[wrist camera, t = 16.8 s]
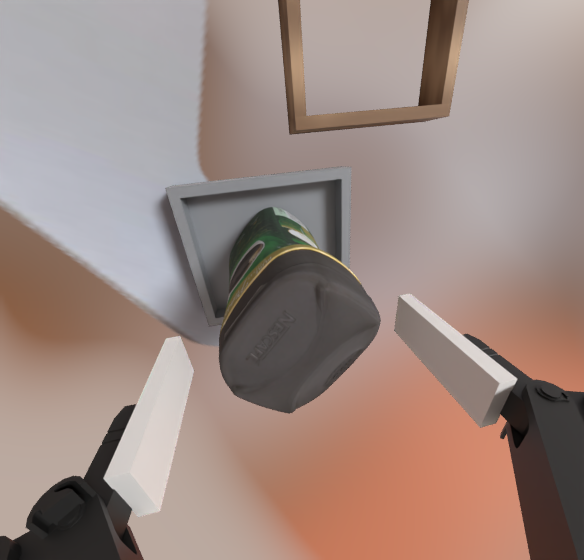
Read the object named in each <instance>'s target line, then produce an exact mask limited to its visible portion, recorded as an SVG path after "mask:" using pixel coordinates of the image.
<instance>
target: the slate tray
mask: <svg viewBox="0 0 584 560" xmlns="http://www.w3.org/2000/svg"><path fill="white" fill-rule="evenodd" d="M165 189H166V192H167V195H168V198H169V202H170V205H171V208H172V211H173V214H174V217H175V220H176V224H177V227H178V230H179V233H180V236H181V239H182V242H183V246H184V249H185V252H186V255H187V258H188V261H189V265H190V268H191V271H192V274H193V277H194V280H195V283H196V287H197V290H198V293H199V296H200V299H201V302H202V305H203V309H204V312H205V315H206V318H207V321H208V324H209V326H215V325H220V324H222V323H223V319H224V315H225V311H226V306H227V302H228V295H229V258H230V253H231V251H232V249H233V247H234V245H235V243H236V241H237V239H238V237H239V236H240V234H241V233H242V231H243V230H244V228H245V227H246V226H247V224H248V223H249V222H250V221H251V219H252V218H253V217H254V216H255V215H256V214H257V213H258V212H259V211H261V210H263V209H265V208H268V207H277V208H280V209H283V210H285V211H287V212H289V213H290V214H292V215H293V216H295V217H296V218H297V219H298V220H300V221H301V222H302V223H303V224H304V225H305V226H306V227H307V229H308V230H309V231H310V233H311V234H312V236H313V238H314V240H315V241H316V244H317V245H318V247H319V249H320V250H323V251H325V252H327V253H329V254H330V255H332V256H334V257H335V258H336V259H338V260H339V261H341V262H342V263H343V264H344V265H345V266H346V267H347V268H348V269H350V210H351V167H342V166H341V167H332V168H325V169H315V170H306V171H298V172H289V173H280V174H271V175H263V176H254V177H245V178H236V179H227V180H218V181H210V182H201V183H192V184H183V185H175V186H171V187H168V188H165Z"/></svg>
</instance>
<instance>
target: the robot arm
mask: <svg viewBox="0 0 584 560" xmlns="http://www.w3.org/2000/svg"><path fill="white" fill-rule="evenodd" d="M394 331H395V332H396V333H397V334H398V335H399V336H400V338H401V339H402V340H403V341H404V342H405V343H406V344H407V346H408V347H409V348H410V349H411V350H412V351H413V352H414V354H415V355H416V356H417V357H418V358H419V359H420V360H421V361H422V363H423V364H424V365H425V366H426V367H427V368H428V369H429V370H430V372H431V373H432V374H433V375H434V376H435V377H436V378H437V379H438V381H439V382H440V383H441V384H442V385H443V386H444V387H445V388H446V390H447V391H448V392H449V393H450V394H451V395H452V396H453V397H454V399H455V400H456V401H457V402H458V403H459V404H460V405H461V406H462V408H463V409H464V410H465V411H466V412H467V413H468V414H469V416H470V417H471V418H472V419H473V420H474V421H475V422H476V423H477V425H478V426H479V427H484V426H488V425H492V424H495V423H496V422H497V420H498V418H499V416H500V414H501V415H502V416H503V417H504V418H505V419H506V420H507V422H506V425H505V426H504V428H503V430H502V432H501V436H500V438H502V439H504V437H505V435H506V434H507V436H508V442H509V447H510V452H511V458H512V463H513V468H514V474H515V479H516V485H517V490H518V495H519V500H520V506H521V511H522V517H523V522H524V527H525V533H526V538H527V543H528V549H529V554H530V559H531V560H584V392H573V391H564V390H563V389H561V388H559V387H557V386H556V385H554V384H551V383H548V382H546V381H541V380H532V379H531V378H529V377H528V376H527V375H525V374H524V373H523V372H522V371H520V370H519V369H518V368H516V367H515V366H514V365H512V364H511V363H510V362H508V361H507V360H506V359H504V358H503V357H502V356H500V355H498V354H497V353H496V352H495V351H494V350H492V349H490V348H489V346H487V345H486V344H485V343H483V342H482V341H481V340H479V339H477V338H475V337H473V336H471V335H469V334H464V335H461V334H460V333H459V332H458V331H457V330H455V329H454V328H453V327H452V326H450V325H449V324H447V322H445V321H444V320H443V319H441V318H440V317H439V316H438V315H436V314H435V313H434V312H433V311H431V310H430V309H429V308H428V307H426V306H425V305H424V304H423V303H421V302H420V301H419V300H418V299H416V298H415V297H414V296H413V295H411V294H405V295H401V296H399V298H398V306H397V314H396V321H395V329H394ZM193 374H194V369H193V367H192V364H191V362H190V359H189V357H188V354H187V352H186V349H185V347H184V345H183V342H182V339H181V336H177V337H171V338H166V340H165V342H164V344H163V346H162V348H161V351H160V353H159V355H158V358H157V360H156V362H155V364H154V366H153V369H152V371H151V373H150V375H149V377H148V380H147V382H146V384H145V386H144V389H143V391H142V393H141V395H140V398H139V400H138V402H137V404H134V405H130V406H125V407H124V408H123V409H122V410H121V411H120V413H119V414H118V415H117V416H116V417H115V418H114V420H113V422H112V424H111V426H110V428H109V430H108V434H106V436H105V438H104V440H103V442H102V445H101V446H100V447H99V449H98V451H97V453H96V455H95V457H94V459H93V461H92V463H91V465H90V467H89V469H88V471H87V473H86V475H85V477H84V479H82V478H81V477H80V476H72V477H69V478H66V479H63V480H62V481H60V482H58V483H57V484H55V485H54V486H52V487H51V488H50V489H49V490H48V491H47V492H46V493H45V494H44V495H42V497H41V498H40V499H39V500H38V501H37V503H36V504H35V505H34V506H33V508H32V510H31V512H30V514H29V516H28V518H27V523H26V528H28V529H29V530H30V531H29V532H27V533H25V534H24V535H22V536H20V537H19V538H17V539H15V540H11V539H9V538H8V537H6V536H0V560H144V559H143V557H142V555H141V552H140V550H139V548H138V545H137V543H136V541H135V538H134V536H133V533H132V531H131V529H130V527H129V526H128V525H127V523H128V520H129V517H130V514H131V511H133V512H134V513H135V514H136V515H137V517H141V516H144V515H148V514H152V513H156V512H159V511H160V510H161V506H162V501H163V497H164V493H165V489H166V485H167V481H168V477H169V472H170V468H171V464H172V460H173V456H174V452H175V448H176V444H177V440H178V435H179V431H180V427H181V423H182V419H183V414H184V410H185V407H186V402H187V398H188V394H189V390H190V386H191V382H192V378H193Z"/></svg>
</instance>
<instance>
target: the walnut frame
mask: <svg viewBox="0 0 584 560" xmlns="http://www.w3.org/2000/svg"><path fill="white" fill-rule="evenodd" d="M468 3H469V0H431V4H430V5H431V6H430V13H429V21H428V29H427V38H426V46H425V54H424V63H423V71H422V79H421V87H420V96H419V105H418V106H415V107H403V108H392V109H380V110H369V111H358V112H347V113H335V114H323V115H312V116H306V102H305V84H304V66H303V49H302V31H301V13H300V0H278V4H279V15H280V27H281V40H282V50H283V63H284V74H285V86H286V98H287V109H288V121H289V133H290V134H299V133H310V132H319V131H320V132H321V131H330V130H342V129H352V128H362V127H373V126H382V125H394V124H403V123H415V122H425V121H429V120H433V119H438V118H442V117H447V116H449V113H450V107H451V102H452V96H453V90H454V84H455V78H456V73H457V67H458V61H459V54H460V49H461V42H462V37H463V32H464V25H465V19H466V14H467V8H468Z"/></svg>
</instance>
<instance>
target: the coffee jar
mask: <svg viewBox="0 0 584 560" xmlns="http://www.w3.org/2000/svg"><path fill="white" fill-rule="evenodd" d="M380 321H381V320H380V315H379V312H378V310H377V308H376V306H375V304H374V303H373V301H372V299H371V298H370V297H369V296H368V295H367V293H366V291H365V290H364V288H363V287H362V285H361V283H360V281H359V280H358V278H357V277H356V276H355V275H354V274H353V273H352V272H351V271H350V270H349V269H348V268H347V267H346V266H345V265H344V264H343V263H342V262H341V261H339V260H338V259H336V258H335V257H334V256H332V255H330V254H329V253H327V252H325V251H323V250H320V249H319V247H318V245H317V244H316V241H315V240H314V238H313V236H312V234H311V233H310V231H309V230H308V229H307V227H306V226H305V225H304V224H303V223H302V222H301V221H300V220H298V219H297V218H296V217H295V216H293V215H292V214H290V213H289V212H287V211H285V210H283V209H280V208H277V207H268V208H265V209H263V210H261V211H259V212H258V213H257V214H256V215H255V216H254V217H253V218H252V219H251V221H250V222H249V223H248V224H247V226H246V227H245V228H244V230H243V231H242V233H241V234H240V236H239V237H238V239H237V241H236V243H235V245H234V247H233V249H232V251H231V253H230V258H229V295H228V302H227V306H226V311H225V315H224V319H223V323H222V327H221V331H220V337H219V362H220V370H221V373H222V376H223V378H224V380H225V382H226V384H227V385H228V386H229V388H230V389H231V391H232V392H233V393H234V395H236V396H237V397H239V398H242V399H244V400H246V401H249V402H251V403H254V404H257V405H259V406H262V407H265V408H269V409H272V410H277V411H280V412H284V413H292V412H294V411H295V410H296V409H297V408H299V407H301V406H303V405H305V404H307V403H309V402H310V401H312V400H314V399H315V398H317V397H318V396H319V395H321V394H322V393H323V392H324V391H325V390H327V389H328V388H329V387H330V386H331V385H332V384H333V382H335V381H336V380H337V379H338V378H339V377H340V376H341V375H342V374H343V373H344V372H345V371H346V370H347V369H348V368H349V367H350V366H351V365H352V364H353V362H354V361H355V360H356V359H357V358H358V357H359V356H360V355H361V354H362V352H363V351H364V350H365V349H366V348H367V347H368V346H369V345H370V343H371V342H372V341H373V339H374V337H375V336H376V334H377V332H378V329H379V326H380Z"/></svg>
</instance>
